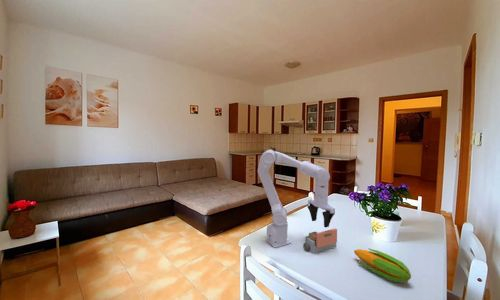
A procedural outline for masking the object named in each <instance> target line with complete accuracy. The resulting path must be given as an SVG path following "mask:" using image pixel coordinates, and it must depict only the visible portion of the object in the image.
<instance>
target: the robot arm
mask: <svg viewBox="0 0 500 300" xmlns="http://www.w3.org/2000/svg"><path fill="white" fill-rule="evenodd" d="M275 161H276V162H275ZM274 163H276V164H278V163H284V164H287V165H290V166H291V167H294V168H297V169H298V170H299V172H300V173H301V174H304V175H306V176H308V177H311V178H313V179H314V178H315V184H314V199H308V200H307V204H308V205H307V209H308V210H309V214H310V217H311V221H312V222H316V221H317V218H318V217H317V216H318V211H319V209H320V210H324V211H322V212H321V213H322V216H323V227H324V228H329V227H330V223H331V220H332V219H333V217H334V216H335V214H336V208H334V207H332V206H331V205H330V204H329V203H328V202H329V201H328V200H329V198H328V197H329V181H330V179H331V176H330V172H329V171H328V170H327V169H325V168H324V167H321V165H316V164H315V163H312V162H311V161H310V160H304V161H300V160H297V159H296V158H293V157H291V156H290V155H287V154H285V153H282V152H279V151H275V150H273V149H267V150H265V151H264V152H263V153H262V154H261V156H260V157H259V163H258V168H257V175H258V176H259V179H260V181H261V184H262V186H263V189H264V191H265V194H266V197H267V199H268V202H269V205H270V207H271V213H272V223H270V224H268V225H267V227H266V238H265V241H266V242H267V243H268V244H270V245H271V246H272V247H273V248H278V247H282V246H285V245H286V246H287V245H290V244H291V243H292V242H291V241H290V240H289V239H288V229H289V227H288V226H289V223H288V218H287V215H288V212H287V209H286V208H285V207H284V206H283V204H282V202H281V201H280V198H279V195H278V193H277V191H276V188H275V185H274V183H273V180H272V177H271V175H270V171H269V170H270V168H271V166H272V165H273V164H274Z"/></svg>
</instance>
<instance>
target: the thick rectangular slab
mask: <svg viewBox="0 0 500 300" xmlns="http://www.w3.org/2000/svg"><path fill="white" fill-rule="evenodd" d="M337 242H338V229H337V228H331V229H328V230H324V231H320V232H319V231H318V232H317V233H316V247H317V248H319V247H323V246H326V245H330V244H333V243H336V244H337Z"/></svg>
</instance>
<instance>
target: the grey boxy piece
mask: <svg viewBox="0 0 500 300" xmlns="http://www.w3.org/2000/svg"><path fill="white" fill-rule="evenodd" d="M304 238H305V239H304V240H305V241H304V244H303V249H304V251H305V252H309V253H311V254H317V253H320V252H323V251H327V250H330V249H333V248H336V247H337V243H333V244H330V245H326V246H323V247H319V248H317V247H316V246H315V242H314V241H313V240H311V239H309V235H306V236H305V237H304Z"/></svg>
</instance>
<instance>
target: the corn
mask: <svg viewBox="0 0 500 300" xmlns="http://www.w3.org/2000/svg"><path fill="white" fill-rule="evenodd" d="M353 252H354V255H355V256H357V258H359V260H360V261H359V260H356V261H357V263H359V264H360V265H361V266H363V267H364V268H366V269H368V270H370V271H371V272H373V273H375V274H377V275H379V276H381V277H382V278H385V279H386V280H388V281H390V282H393V283H407V282H408V281H410V280H411V279H412V274H411V272H410V269H409V268H408V267H407V265H405V263H404V262H402V261H400V260H399V259H396V258H395V257H393V256H391V255H389V254H387V253H385V252H382V251H380V250H377V249H373V248H368V249H362V248H361V249H359V248H358V249H354V251H353Z"/></svg>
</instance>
